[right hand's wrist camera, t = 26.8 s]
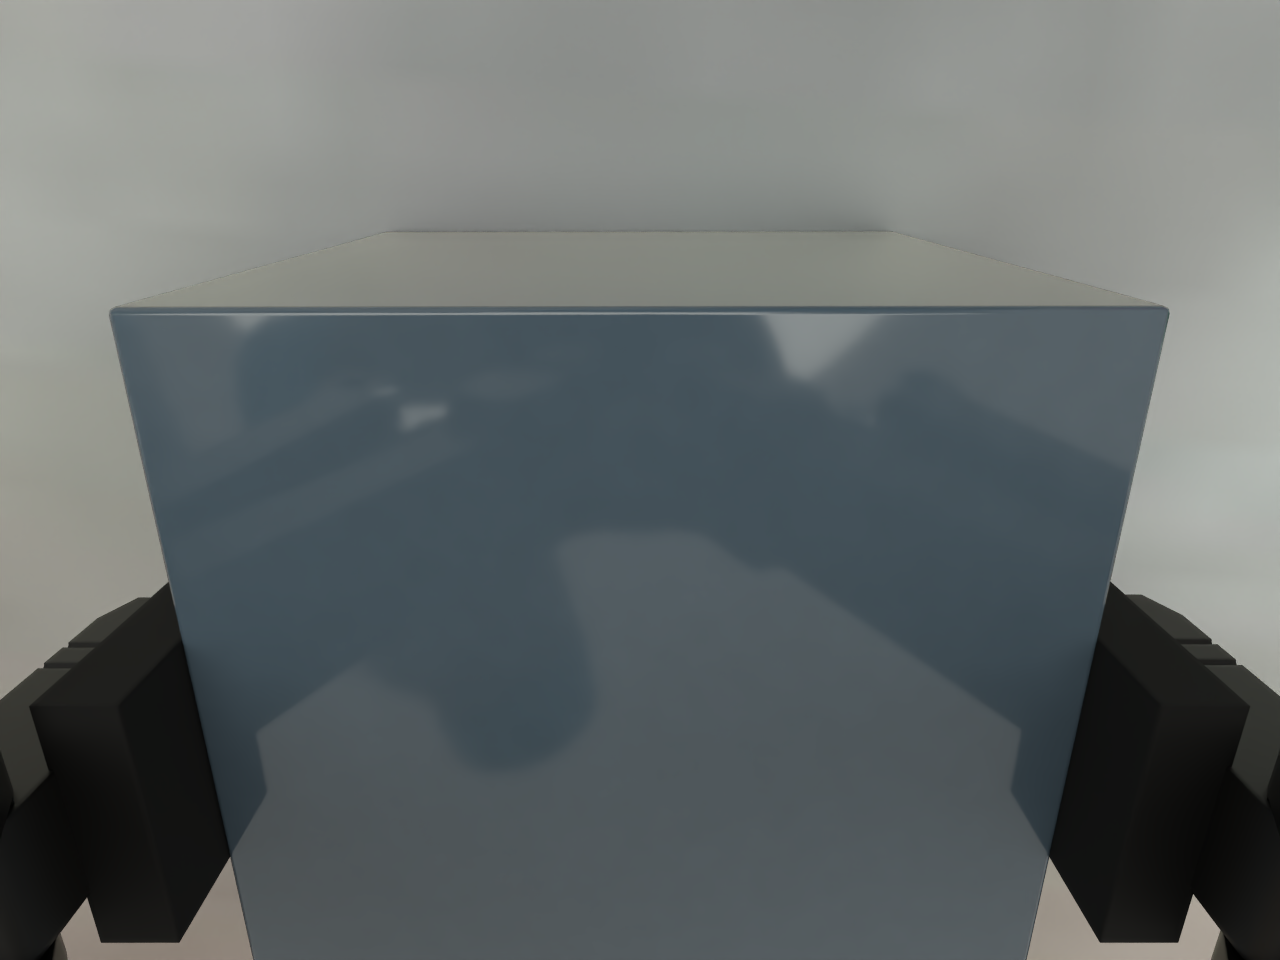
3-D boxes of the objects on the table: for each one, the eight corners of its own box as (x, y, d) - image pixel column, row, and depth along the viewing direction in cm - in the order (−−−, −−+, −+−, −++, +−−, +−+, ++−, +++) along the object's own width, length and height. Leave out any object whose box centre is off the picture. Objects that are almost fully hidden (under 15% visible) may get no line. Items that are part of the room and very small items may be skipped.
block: (848, 675, 18) (1006, 1060, 10) (430, 676, 18) (274, 1061, 10) (894, 231, 15) (1174, 306, 7) (383, 231, 15) (103, 307, 7)
